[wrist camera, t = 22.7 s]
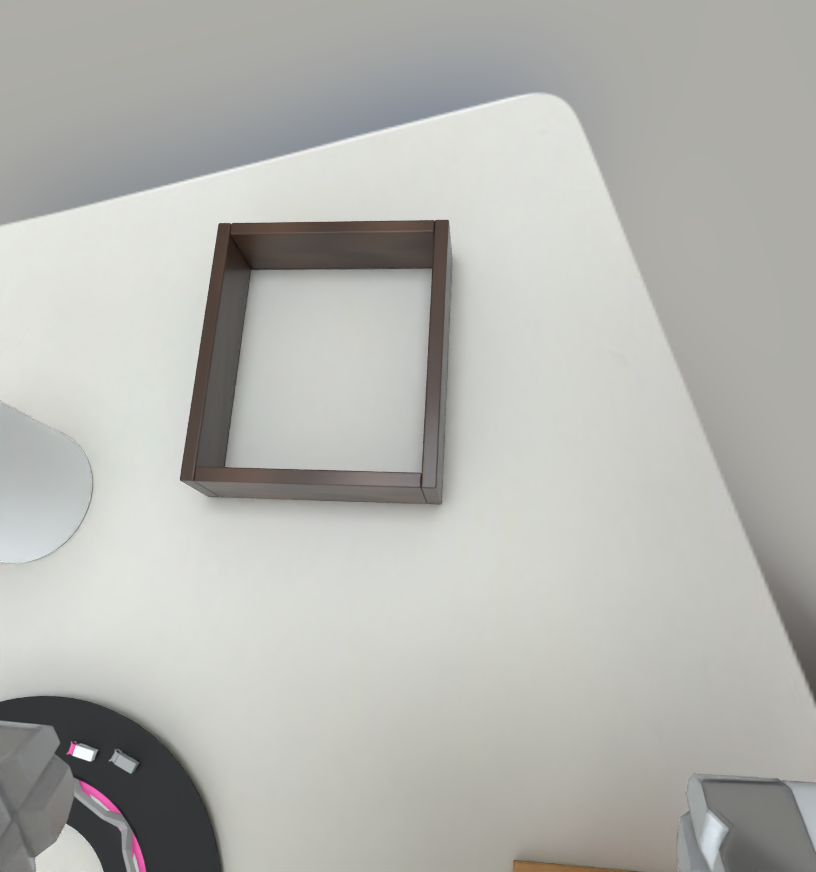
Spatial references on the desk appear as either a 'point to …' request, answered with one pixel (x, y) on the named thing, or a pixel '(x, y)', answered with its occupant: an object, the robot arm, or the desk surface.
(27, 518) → the cup
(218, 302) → the walnut box
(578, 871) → the cork pad
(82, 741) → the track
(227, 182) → the desk surface
